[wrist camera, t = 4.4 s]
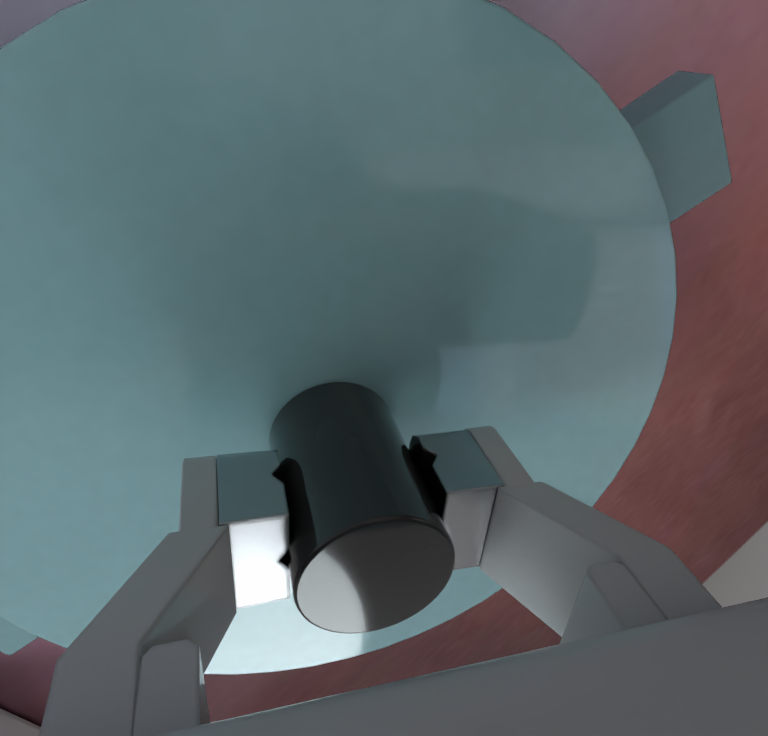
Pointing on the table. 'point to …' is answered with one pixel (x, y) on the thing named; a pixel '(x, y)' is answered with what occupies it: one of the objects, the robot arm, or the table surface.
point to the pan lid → (308, 293)
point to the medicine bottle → (16, 725)
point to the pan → (670, 164)
